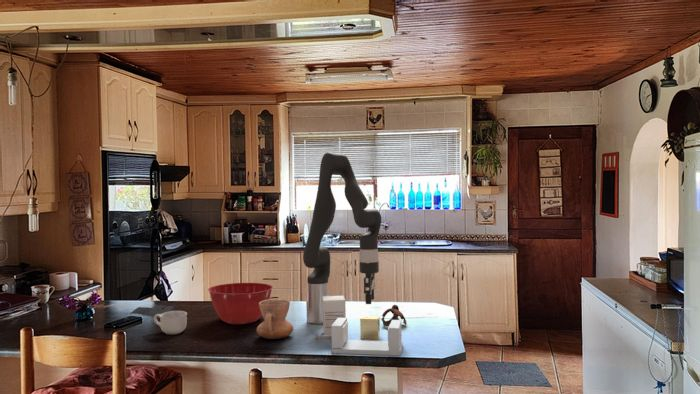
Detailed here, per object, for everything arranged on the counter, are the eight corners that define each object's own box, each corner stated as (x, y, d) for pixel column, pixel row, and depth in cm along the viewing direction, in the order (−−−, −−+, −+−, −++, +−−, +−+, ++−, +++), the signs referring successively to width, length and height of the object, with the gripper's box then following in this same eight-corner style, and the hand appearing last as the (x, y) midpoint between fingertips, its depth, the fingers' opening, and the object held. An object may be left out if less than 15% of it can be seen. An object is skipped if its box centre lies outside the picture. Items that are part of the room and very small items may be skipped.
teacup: (192, 330, 226) (192, 311, 226) (176, 337, 216) (175, 317, 216) (165, 328, 231) (164, 309, 231) (148, 334, 221) (147, 315, 221)
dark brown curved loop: (408, 330, 225) (397, 319, 221) (389, 337, 229) (378, 327, 225) (408, 308, 234) (397, 297, 230) (390, 315, 238) (379, 305, 234)
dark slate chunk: (145, 311, 267) (144, 301, 267) (182, 313, 260) (182, 304, 260) (123, 318, 252) (122, 308, 252) (162, 321, 245) (162, 311, 245)
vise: (331, 352, 191) (331, 326, 191) (338, 343, 203) (337, 318, 203) (400, 355, 187) (400, 328, 187) (403, 345, 199) (402, 320, 199)
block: (378, 339, 207) (378, 319, 207) (360, 339, 209) (360, 318, 208) (379, 336, 212) (379, 316, 212) (362, 336, 213) (361, 316, 213)
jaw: (315, 347, 192) (315, 325, 192) (322, 338, 204) (322, 317, 204) (342, 348, 191) (342, 325, 191) (348, 339, 202) (348, 317, 202)
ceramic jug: (265, 330, 224) (265, 296, 224) (298, 332, 221) (298, 297, 221) (248, 342, 206) (248, 306, 206) (284, 344, 203) (283, 307, 203)
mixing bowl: (257, 311, 260) (257, 279, 260) (284, 323, 236) (283, 288, 236) (200, 320, 244) (199, 286, 244) (222, 333, 221) (221, 296, 220)
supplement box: (322, 332, 220) (322, 295, 220) (344, 331, 221) (343, 295, 220) (323, 338, 211) (322, 300, 211) (346, 337, 212) (345, 299, 211)
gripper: (362, 258, 218) (363, 298, 218) (356, 262, 203) (357, 305, 204) (380, 258, 216) (381, 298, 216) (376, 262, 202) (377, 305, 202)
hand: (369, 301), depth 210 cm, fingers open, 8 cm apart
